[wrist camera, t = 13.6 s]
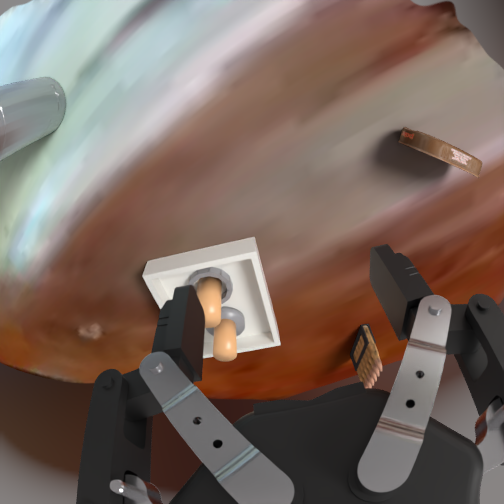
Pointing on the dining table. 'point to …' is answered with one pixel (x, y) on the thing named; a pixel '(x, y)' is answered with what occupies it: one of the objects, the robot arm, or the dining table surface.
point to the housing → (223, 294)
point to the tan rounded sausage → (210, 299)
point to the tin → (441, 150)
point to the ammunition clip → (366, 356)
